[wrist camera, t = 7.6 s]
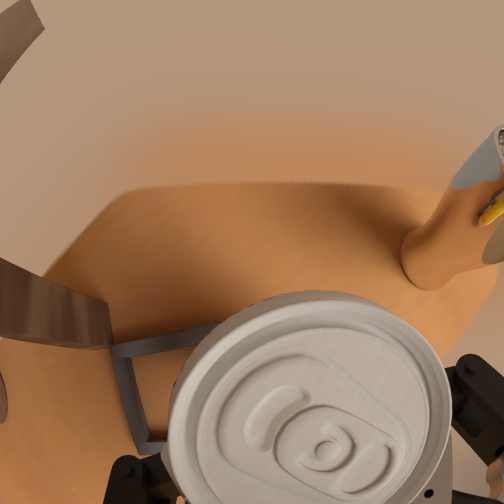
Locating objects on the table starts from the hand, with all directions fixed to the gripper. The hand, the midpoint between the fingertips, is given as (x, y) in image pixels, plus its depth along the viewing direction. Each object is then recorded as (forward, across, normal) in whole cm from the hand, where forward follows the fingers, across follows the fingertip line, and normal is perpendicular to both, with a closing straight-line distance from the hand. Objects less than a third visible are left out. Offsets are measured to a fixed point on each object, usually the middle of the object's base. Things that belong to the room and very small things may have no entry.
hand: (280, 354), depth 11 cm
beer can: (+4, 0, +7) cm, 8 cm away
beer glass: (+10, -16, +5) cm, 19 cm away
